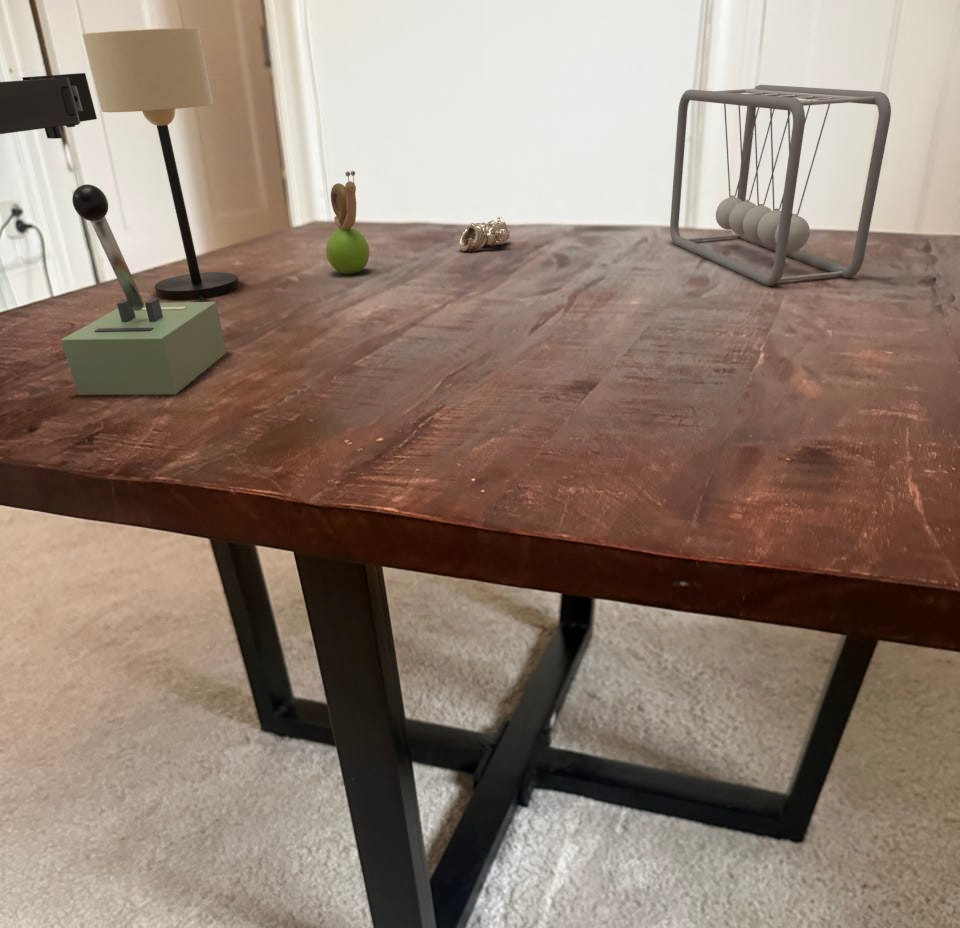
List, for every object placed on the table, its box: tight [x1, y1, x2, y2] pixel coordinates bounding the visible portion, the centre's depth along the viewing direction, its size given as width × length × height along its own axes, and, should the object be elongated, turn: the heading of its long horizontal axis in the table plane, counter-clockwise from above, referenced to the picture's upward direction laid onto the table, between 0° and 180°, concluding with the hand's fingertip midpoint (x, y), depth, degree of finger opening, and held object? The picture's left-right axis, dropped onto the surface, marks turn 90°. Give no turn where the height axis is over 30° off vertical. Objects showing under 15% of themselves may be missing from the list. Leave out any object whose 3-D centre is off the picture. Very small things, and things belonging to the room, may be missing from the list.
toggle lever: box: [71, 183, 145, 311], centre depth 72 cm, size 3×3×11 cm
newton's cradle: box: [669, 84, 892, 287], centre depth 102 cm, size 30×10×18 cm, turn 12°
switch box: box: [60, 297, 227, 396], centre depth 78 cm, size 12×9×7 cm
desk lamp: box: [82, 27, 240, 302], centre depth 97 cm, size 20×12×26 cm, turn 24°
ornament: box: [458, 216, 511, 252], centre depth 120 cm, size 8×7×4 cm
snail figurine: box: [325, 170, 370, 276], centre depth 108 cm, size 5×6×12 cm
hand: (23, 99), depth 61 cm, fingers open, 9 cm apart
